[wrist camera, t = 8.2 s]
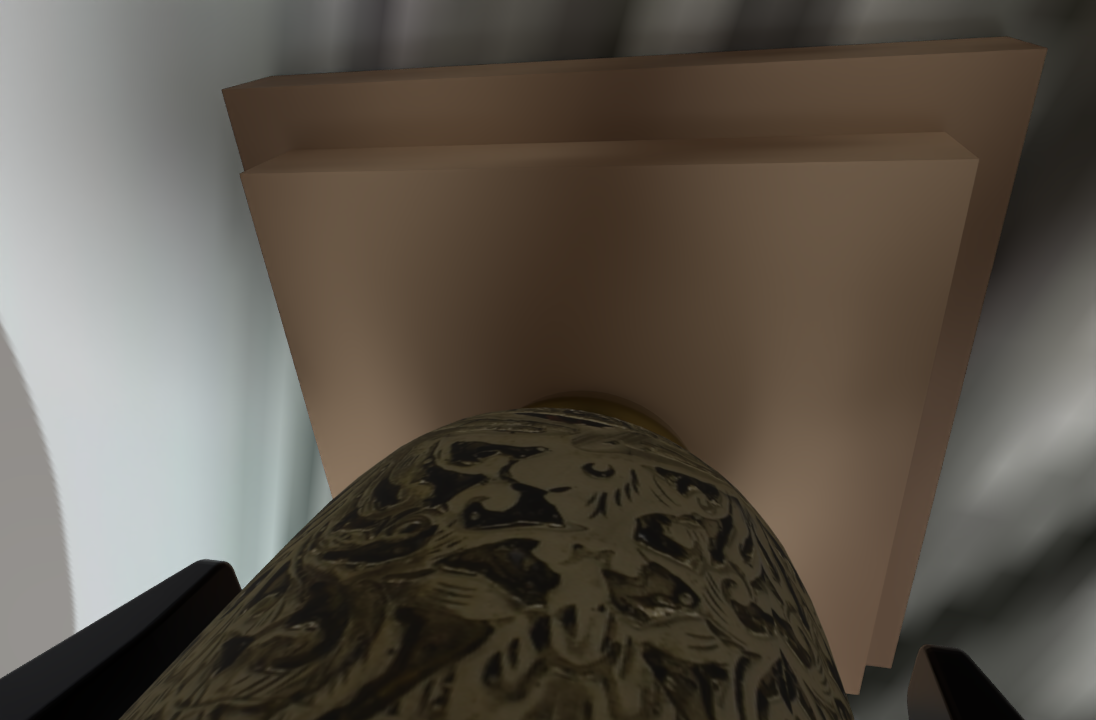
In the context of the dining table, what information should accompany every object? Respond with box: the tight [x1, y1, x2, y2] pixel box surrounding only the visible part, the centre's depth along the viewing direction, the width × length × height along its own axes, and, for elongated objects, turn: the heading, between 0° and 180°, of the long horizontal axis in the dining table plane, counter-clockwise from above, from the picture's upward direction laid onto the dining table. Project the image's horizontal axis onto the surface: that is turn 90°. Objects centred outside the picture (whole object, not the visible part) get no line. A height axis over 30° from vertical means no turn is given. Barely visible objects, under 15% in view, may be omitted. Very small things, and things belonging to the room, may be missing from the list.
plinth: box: [222, 36, 1048, 695], centre depth 13 cm, size 12×12×3 cm
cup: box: [119, 391, 854, 720], centre depth 8 cm, size 8×7×8 cm
